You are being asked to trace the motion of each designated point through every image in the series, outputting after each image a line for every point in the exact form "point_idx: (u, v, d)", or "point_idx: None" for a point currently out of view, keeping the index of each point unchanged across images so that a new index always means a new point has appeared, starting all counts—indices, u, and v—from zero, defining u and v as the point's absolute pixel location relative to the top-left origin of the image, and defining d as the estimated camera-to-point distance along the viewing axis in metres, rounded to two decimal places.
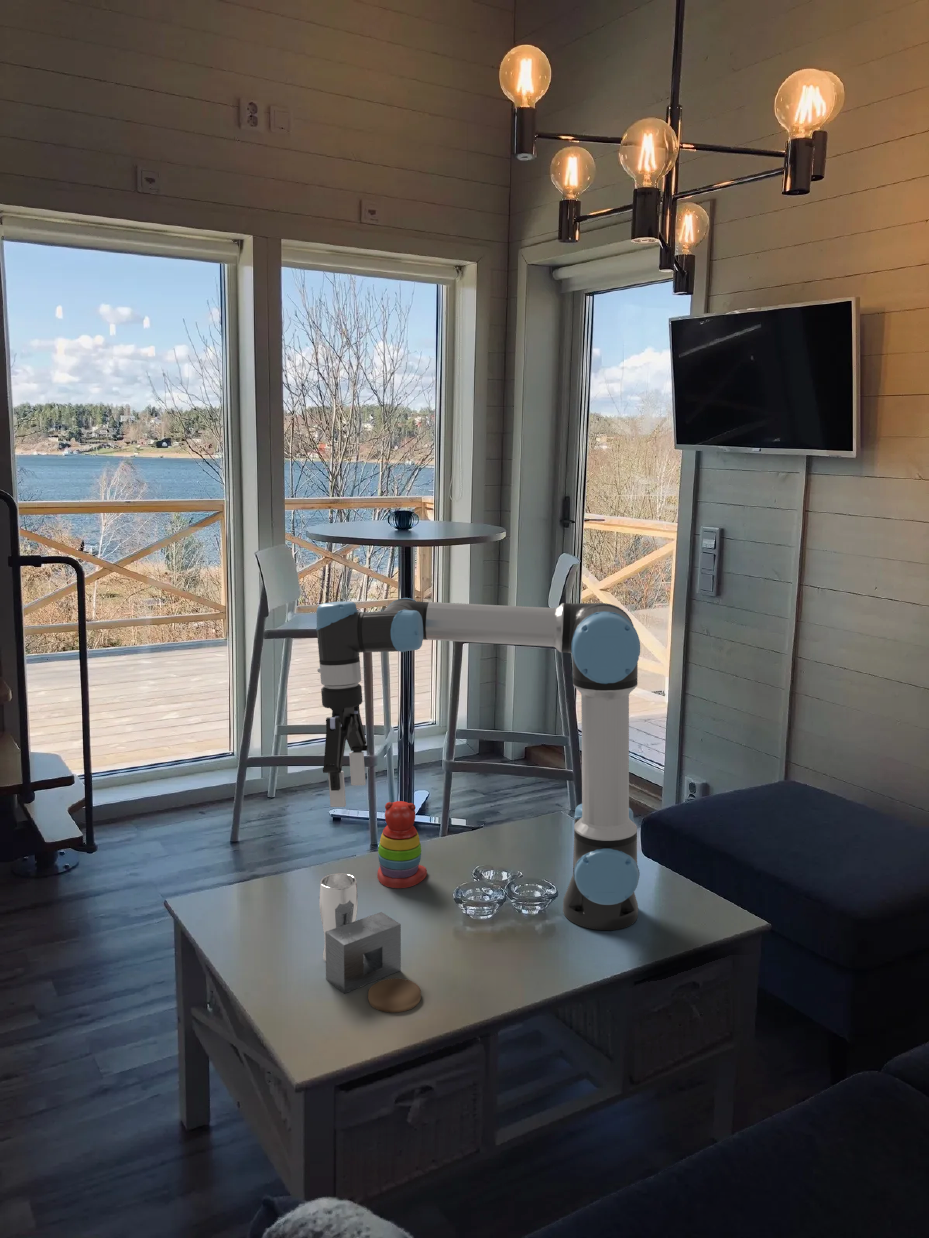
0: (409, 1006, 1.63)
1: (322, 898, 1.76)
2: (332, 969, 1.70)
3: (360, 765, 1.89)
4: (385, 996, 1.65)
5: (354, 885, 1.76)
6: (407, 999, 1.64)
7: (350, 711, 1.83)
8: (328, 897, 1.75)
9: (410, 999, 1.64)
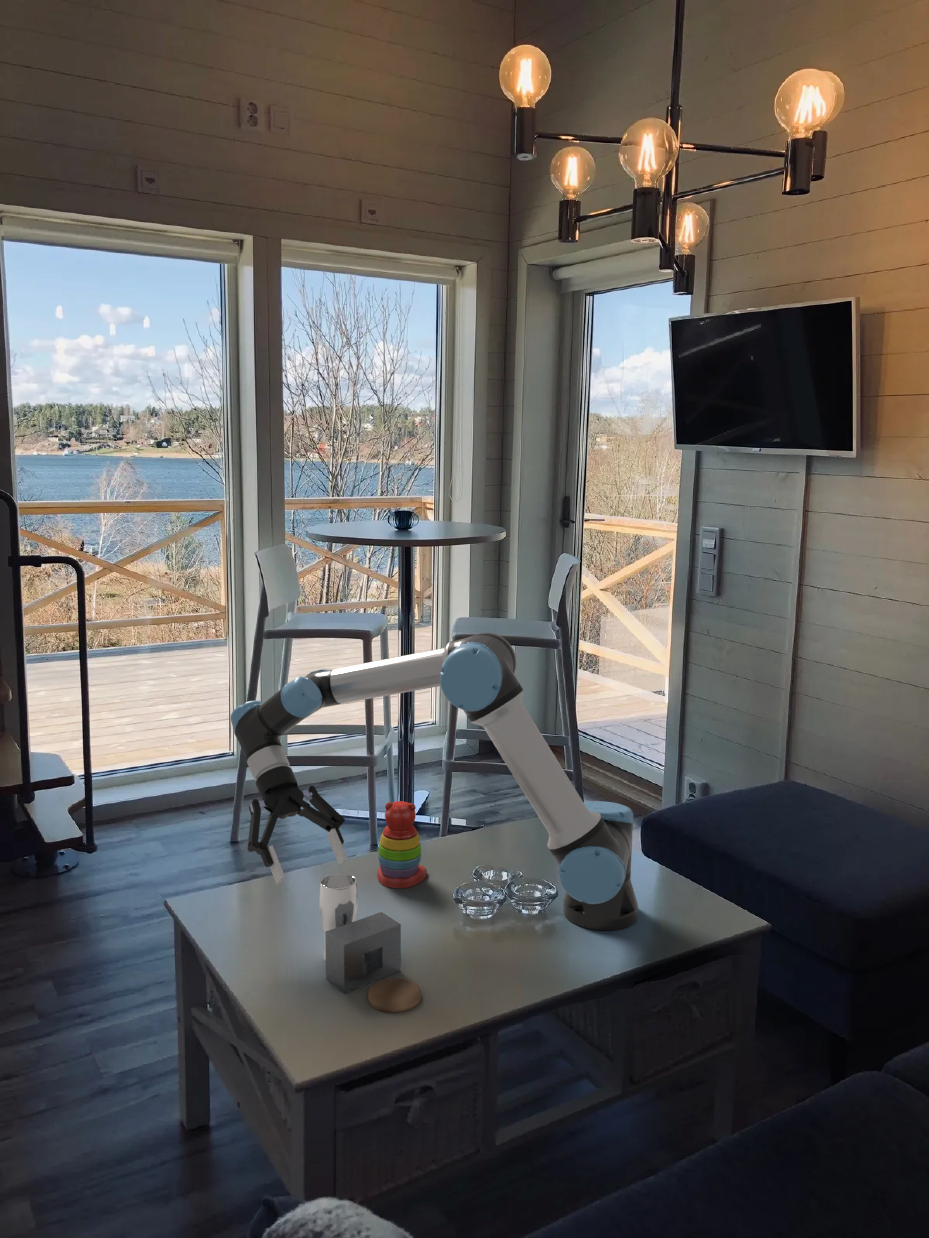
0: (409, 1006, 1.63)
1: (322, 898, 1.76)
2: (332, 969, 1.70)
3: (335, 841, 1.88)
4: (385, 996, 1.65)
5: (354, 885, 1.76)
6: (407, 999, 1.64)
7: (289, 793, 1.90)
8: (328, 897, 1.75)
9: (410, 999, 1.64)
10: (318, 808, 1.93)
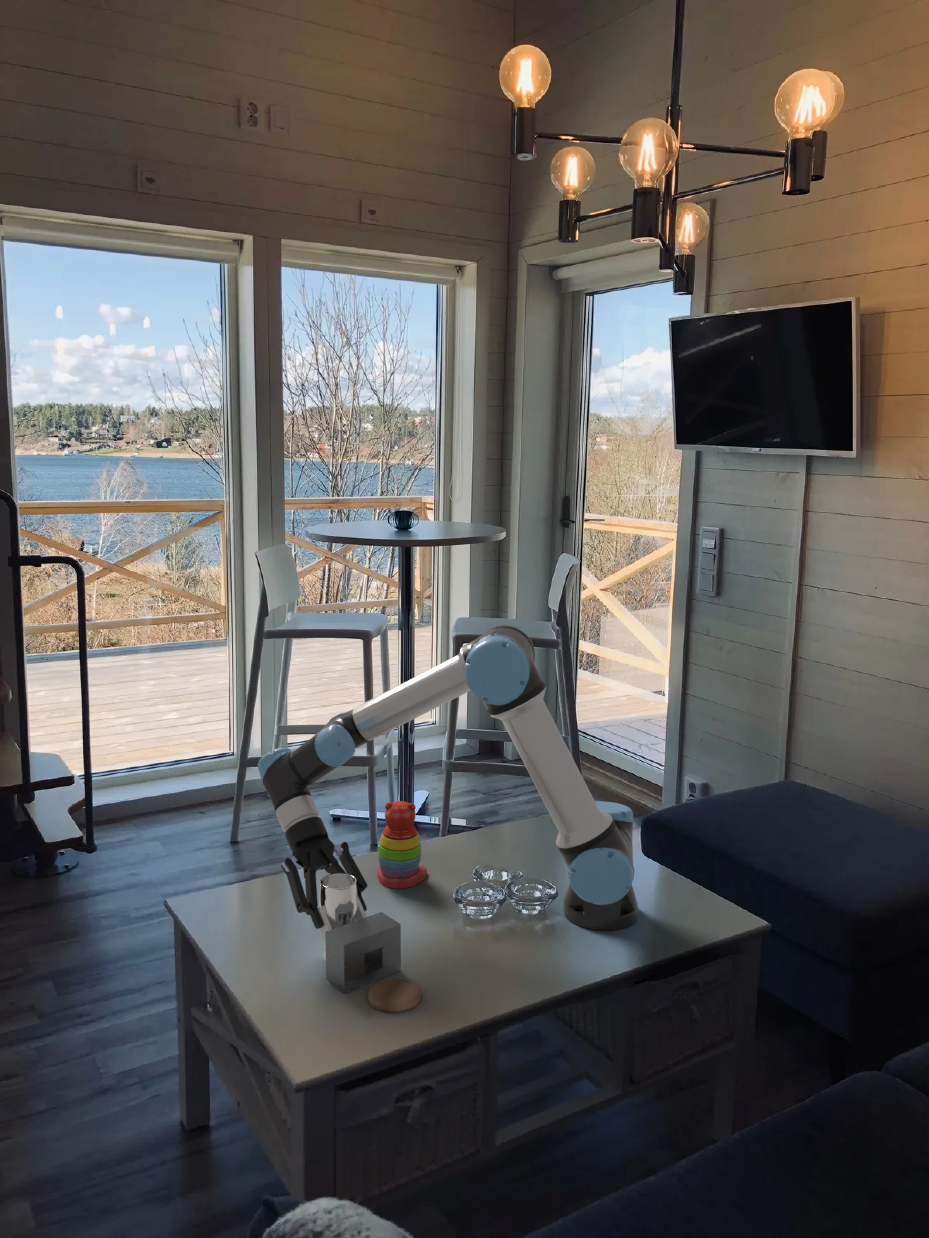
0: (409, 1006, 1.63)
1: (322, 898, 1.76)
2: (332, 969, 1.70)
3: (358, 909, 1.79)
4: (385, 996, 1.65)
5: (354, 885, 1.76)
6: (407, 999, 1.64)
7: (320, 842, 1.84)
8: (328, 897, 1.75)
9: (410, 999, 1.64)
10: (345, 867, 1.85)
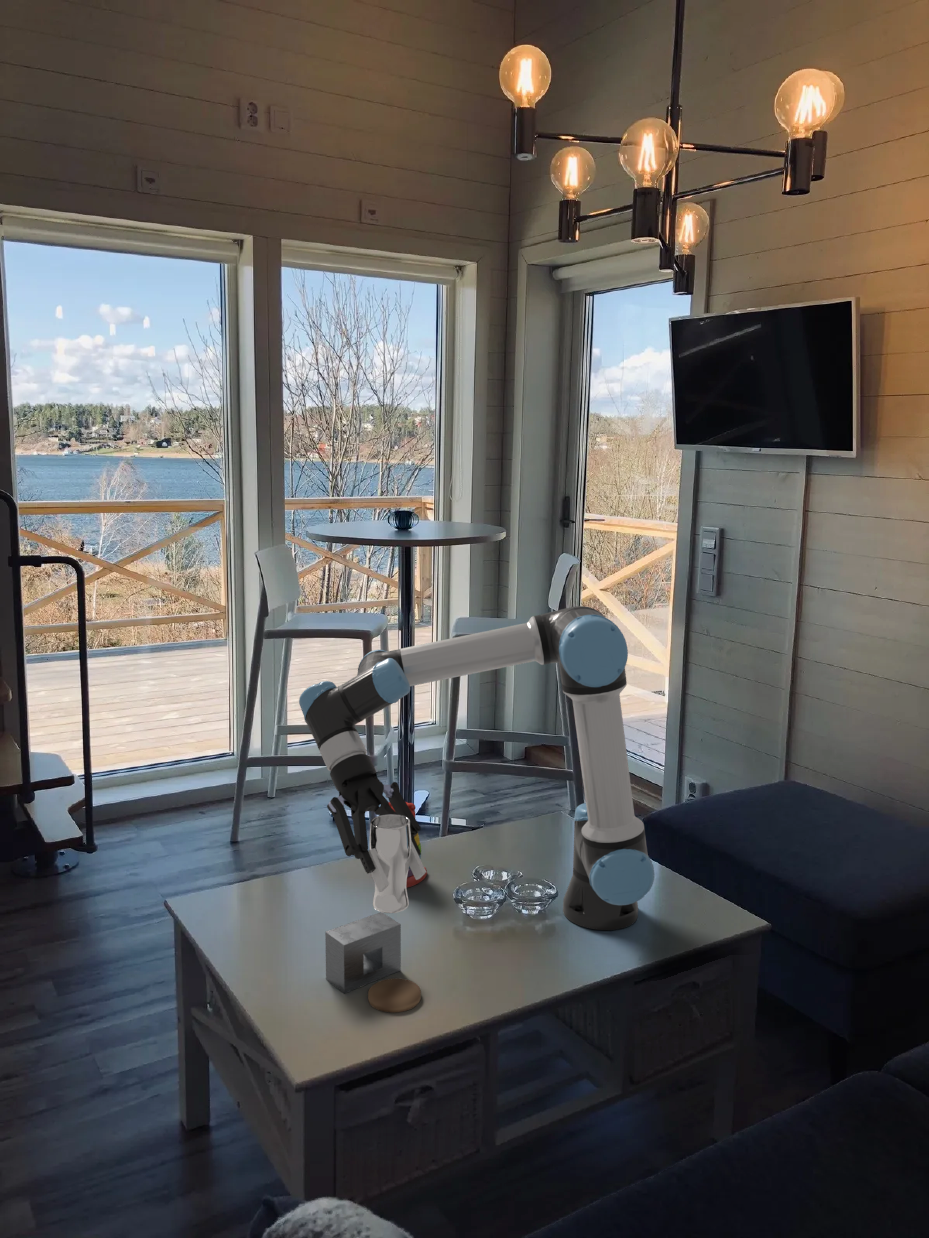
0: (409, 1006, 1.63)
1: (373, 840, 1.60)
2: (332, 969, 1.70)
3: (411, 853, 1.64)
4: (385, 996, 1.65)
5: (408, 826, 1.61)
6: (407, 999, 1.64)
7: (368, 781, 1.68)
8: (380, 838, 1.59)
9: (410, 999, 1.64)
10: (396, 809, 1.70)
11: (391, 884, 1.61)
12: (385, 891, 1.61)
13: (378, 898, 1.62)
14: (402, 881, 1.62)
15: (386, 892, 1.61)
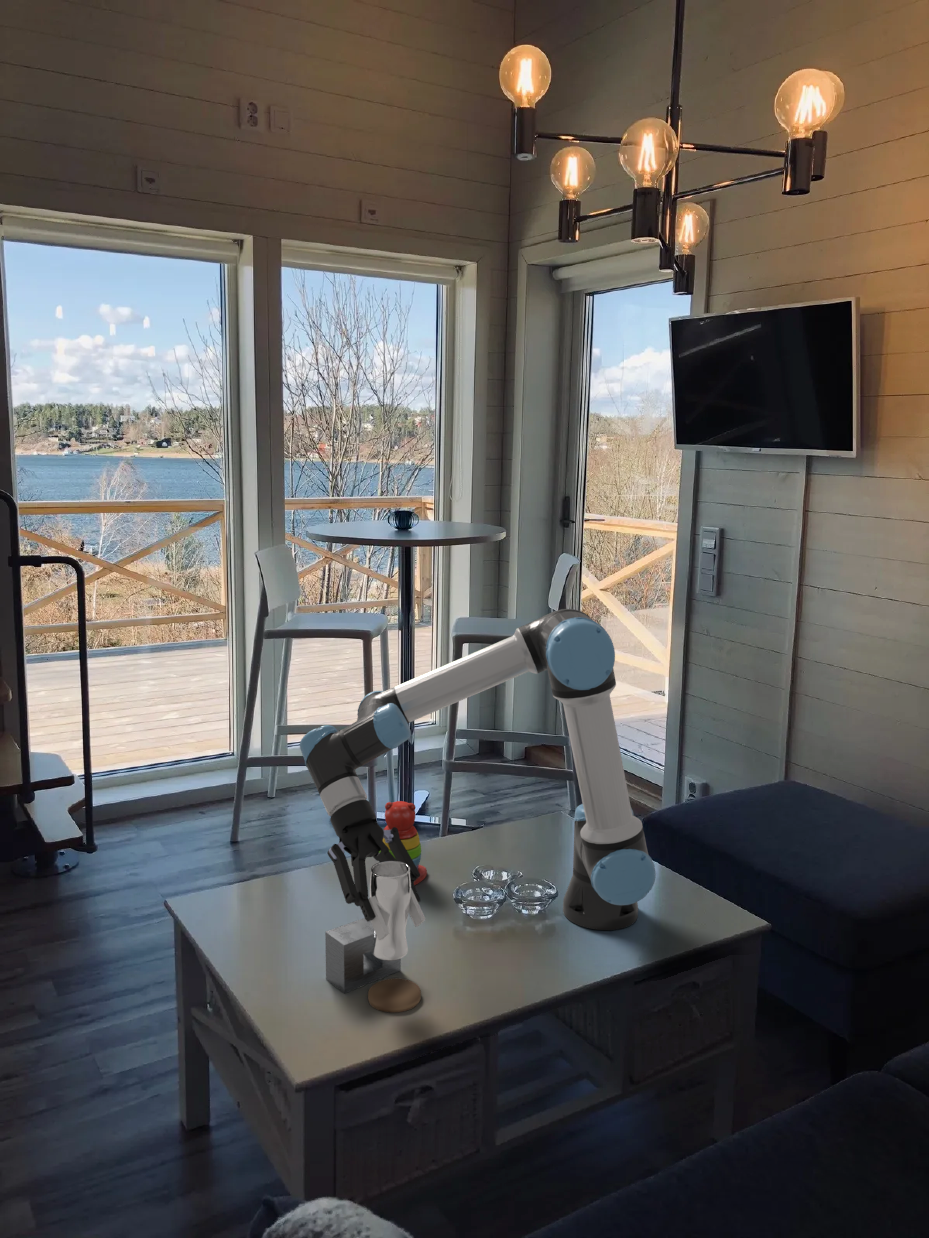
0: (409, 1006, 1.63)
1: (373, 887, 1.61)
2: (332, 969, 1.70)
3: None
4: (385, 996, 1.65)
5: (408, 874, 1.62)
6: (407, 999, 1.64)
7: (368, 827, 1.69)
8: (380, 886, 1.60)
9: (410, 999, 1.64)
10: (395, 854, 1.70)
11: (391, 932, 1.62)
12: (385, 938, 1.62)
13: (377, 945, 1.63)
14: (402, 928, 1.62)
15: (386, 939, 1.62)
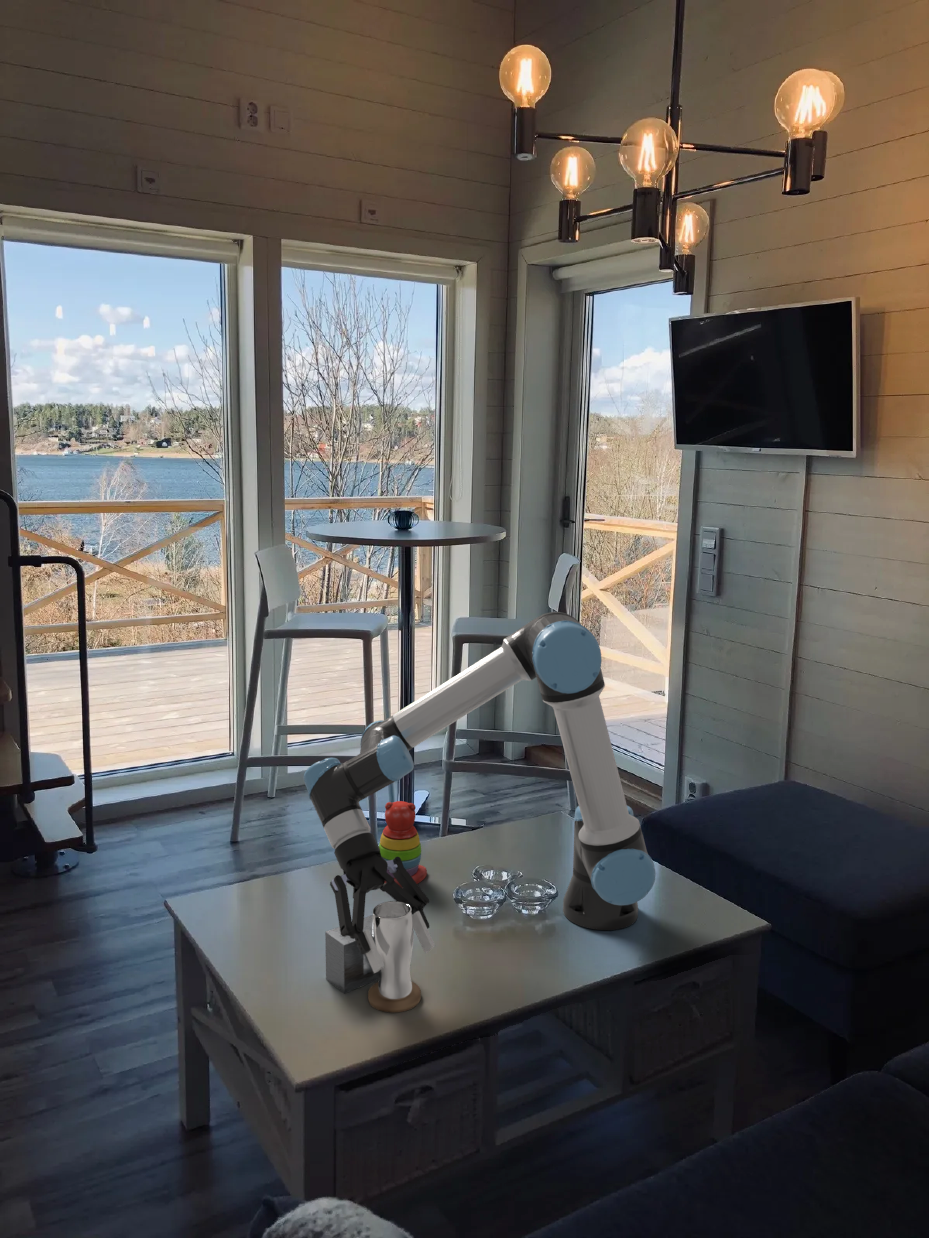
0: (409, 1006, 1.63)
1: (376, 929, 1.62)
2: (332, 969, 1.70)
3: (420, 926, 1.67)
4: None
5: (409, 914, 1.63)
6: (407, 999, 1.64)
7: (372, 861, 1.70)
8: (382, 928, 1.61)
9: (410, 999, 1.64)
10: (401, 883, 1.72)
11: (395, 972, 1.63)
12: (389, 979, 1.63)
13: (382, 986, 1.64)
14: (406, 968, 1.64)
15: (390, 980, 1.63)
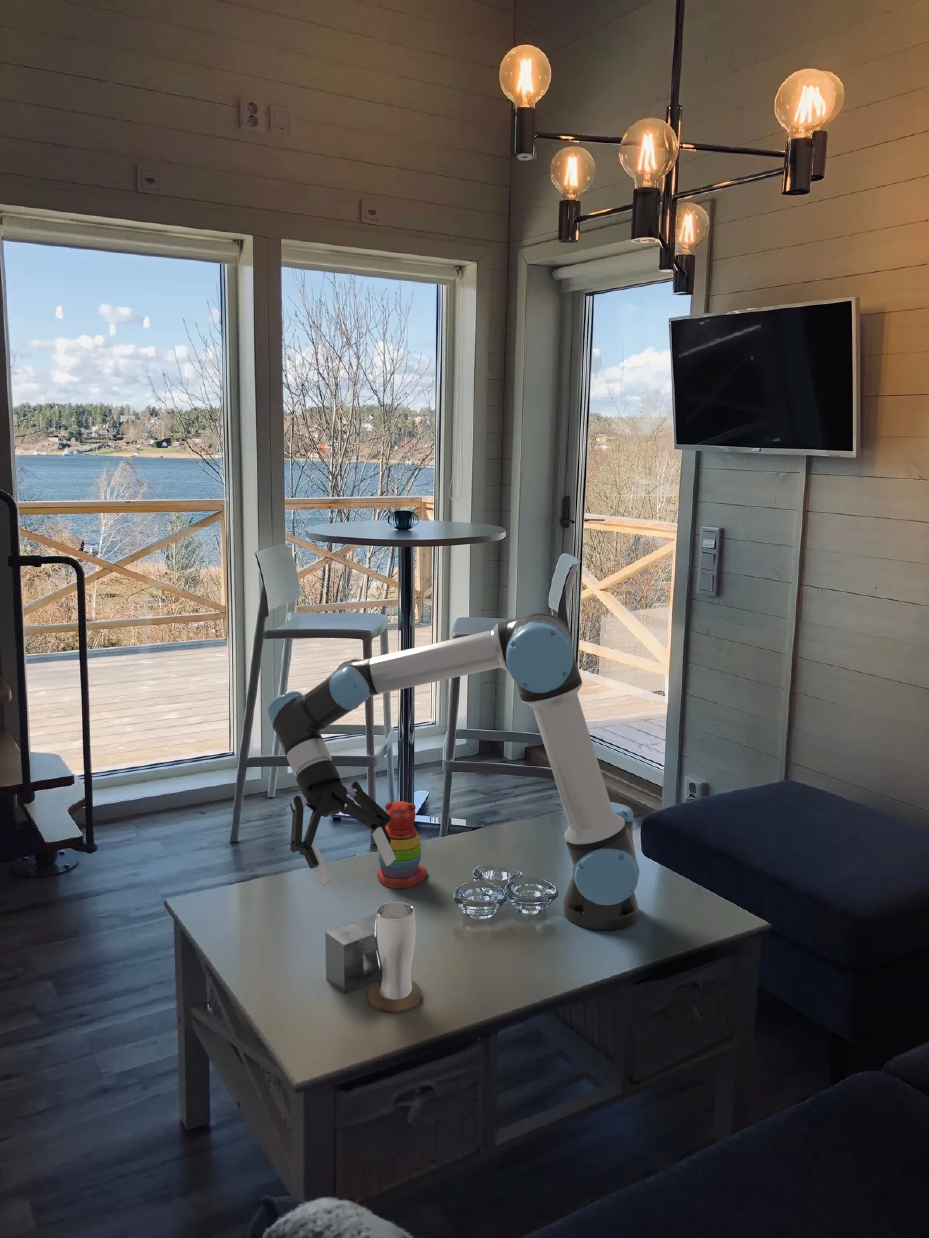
0: (409, 1006, 1.63)
1: (378, 930, 1.62)
2: (332, 969, 1.70)
3: (382, 841, 1.76)
4: None
5: (413, 915, 1.63)
6: (407, 999, 1.64)
7: (332, 789, 1.78)
8: (385, 929, 1.61)
9: (410, 999, 1.64)
10: (362, 805, 1.81)
11: (396, 973, 1.63)
12: (390, 980, 1.63)
13: (383, 986, 1.64)
14: (407, 969, 1.64)
15: (391, 981, 1.63)
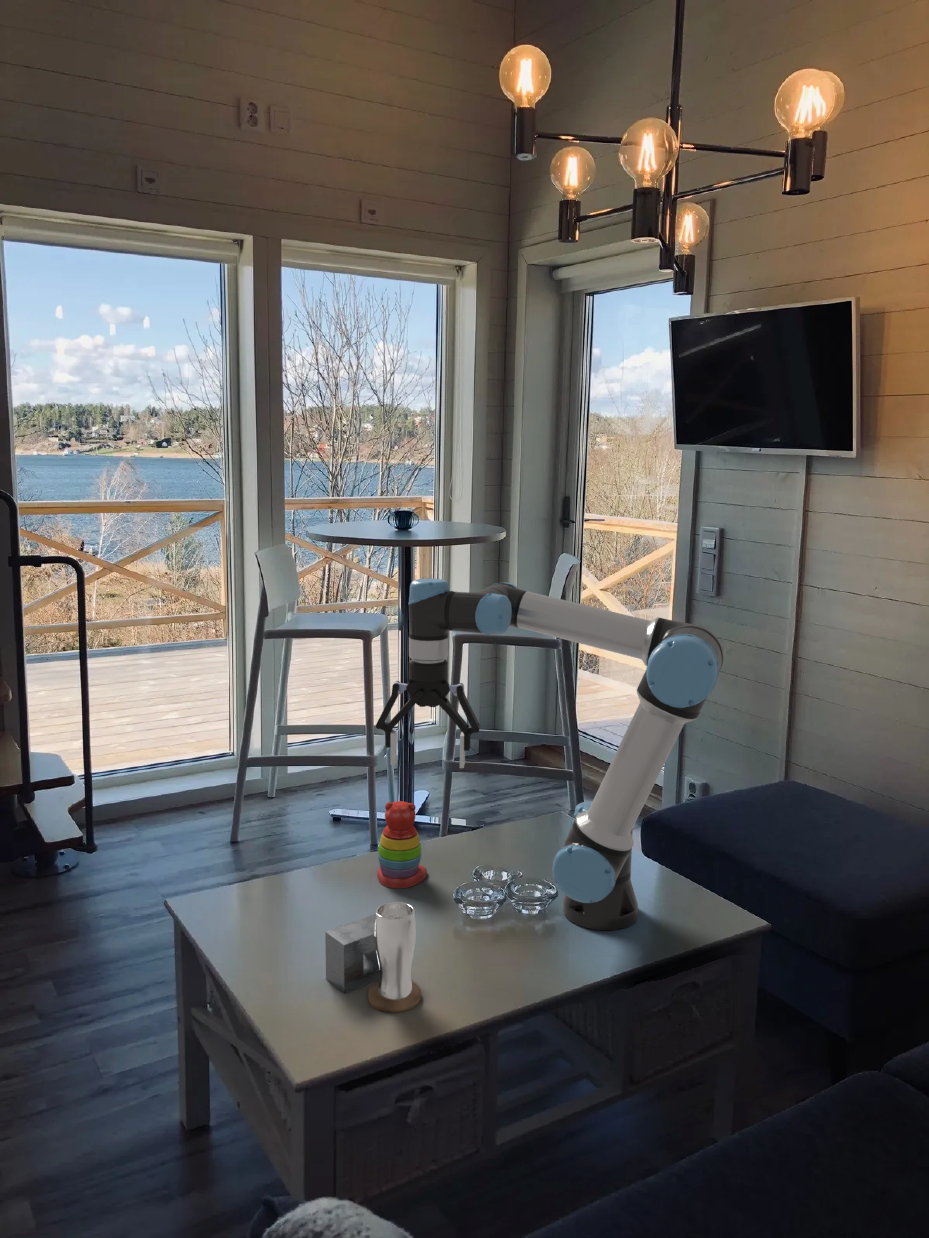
0: (409, 1006, 1.63)
1: (378, 930, 1.62)
2: (332, 969, 1.70)
3: (460, 747, 1.89)
4: None
5: (412, 915, 1.63)
6: (407, 999, 1.64)
7: (433, 687, 1.87)
8: (385, 929, 1.61)
9: (410, 999, 1.64)
10: None
11: (396, 973, 1.63)
12: (390, 980, 1.63)
13: (383, 986, 1.64)
14: (407, 969, 1.64)
15: (391, 981, 1.63)
